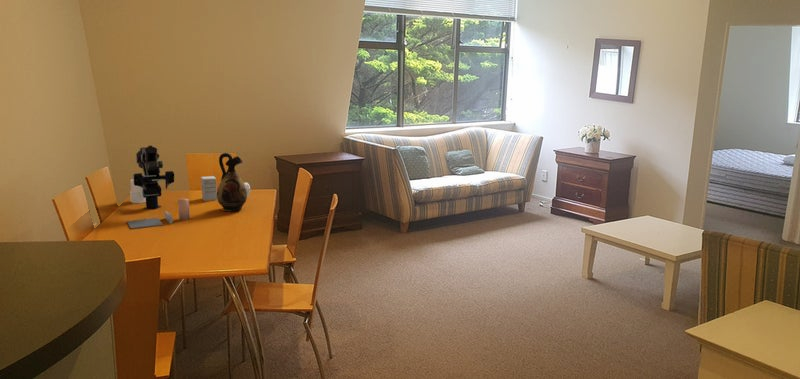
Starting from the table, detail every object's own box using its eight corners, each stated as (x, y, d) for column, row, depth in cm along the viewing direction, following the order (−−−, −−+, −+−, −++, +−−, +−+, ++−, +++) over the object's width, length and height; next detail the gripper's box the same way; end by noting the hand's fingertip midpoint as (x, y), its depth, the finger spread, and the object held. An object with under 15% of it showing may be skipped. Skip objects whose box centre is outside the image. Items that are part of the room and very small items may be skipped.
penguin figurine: (250, 182, 339) (229, 186, 333) (252, 197, 341) (231, 201, 335) (247, 181, 344) (226, 184, 338) (249, 195, 346) (228, 199, 340)
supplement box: (202, 198, 338) (200, 176, 335) (215, 197, 341) (214, 175, 338) (203, 201, 331) (202, 179, 328) (217, 200, 334) (216, 178, 332)
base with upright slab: (127, 202, 327) (125, 180, 324) (140, 199, 334) (139, 178, 332) (138, 204, 323) (136, 182, 320) (151, 200, 330) (150, 179, 328)
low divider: (165, 218, 294) (164, 211, 293) (167, 218, 295) (166, 211, 294) (170, 223, 284) (169, 216, 283) (172, 223, 285) (171, 216, 284)
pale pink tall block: (182, 217, 296) (181, 198, 294) (191, 218, 295) (190, 198, 293) (177, 220, 291) (176, 200, 289) (186, 220, 290) (185, 200, 288)
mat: (126, 222, 286) (126, 221, 286) (157, 218, 293) (157, 217, 293) (131, 229, 274) (131, 228, 274) (163, 225, 281) (162, 224, 281)
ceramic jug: (251, 206, 320) (249, 151, 314) (241, 213, 305) (239, 156, 299) (221, 205, 322) (218, 150, 315) (209, 212, 307) (206, 155, 300)
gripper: (131, 157, 291) (135, 177, 281) (171, 155, 299) (176, 174, 289) (132, 175, 297) (135, 195, 287) (171, 172, 306) (176, 191, 296)
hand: (156, 188), depth 290 cm, fingers open, 9 cm apart
